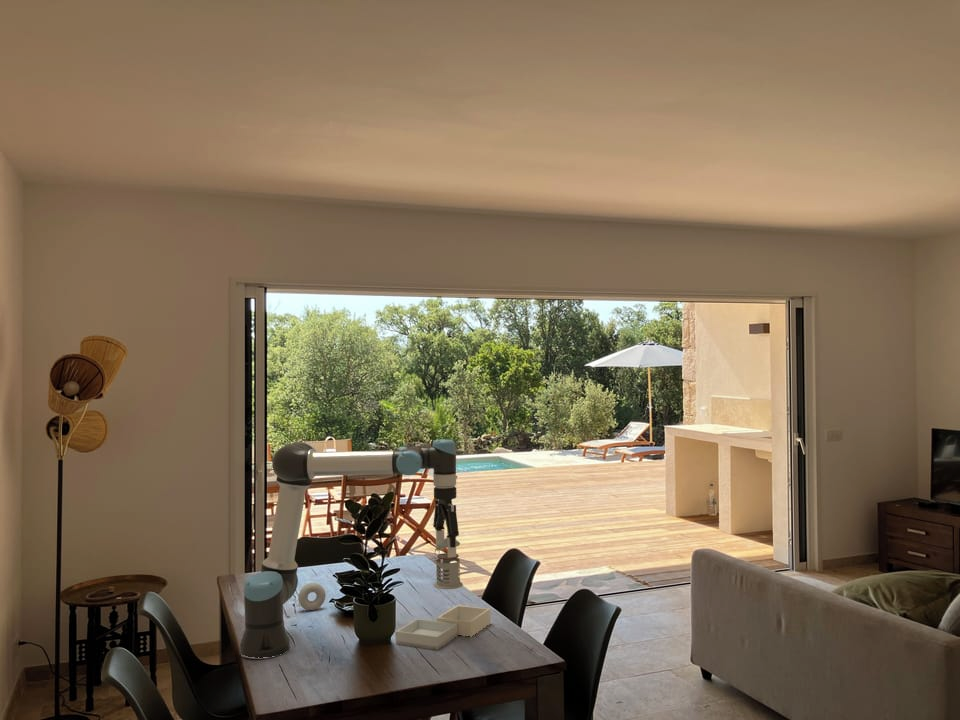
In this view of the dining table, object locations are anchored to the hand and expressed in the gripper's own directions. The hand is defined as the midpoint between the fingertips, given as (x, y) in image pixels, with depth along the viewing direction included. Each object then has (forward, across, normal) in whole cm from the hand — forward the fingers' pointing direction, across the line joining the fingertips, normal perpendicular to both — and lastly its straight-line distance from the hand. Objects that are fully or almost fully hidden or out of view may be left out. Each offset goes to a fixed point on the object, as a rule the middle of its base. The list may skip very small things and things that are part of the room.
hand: (446, 553), depth 252 cm
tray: (+26, -3, +8) cm, 28 cm away
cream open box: (+26, +2, -7) cm, 27 cm away
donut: (+27, +47, +36) cm, 65 cm away
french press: (+10, 0, 0) cm, 10 cm away
